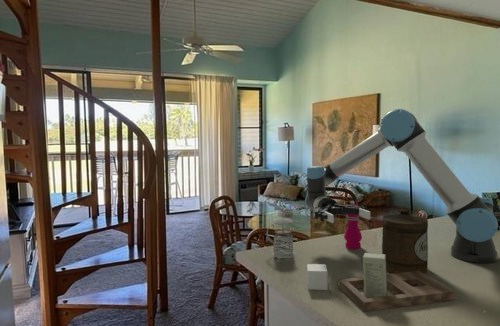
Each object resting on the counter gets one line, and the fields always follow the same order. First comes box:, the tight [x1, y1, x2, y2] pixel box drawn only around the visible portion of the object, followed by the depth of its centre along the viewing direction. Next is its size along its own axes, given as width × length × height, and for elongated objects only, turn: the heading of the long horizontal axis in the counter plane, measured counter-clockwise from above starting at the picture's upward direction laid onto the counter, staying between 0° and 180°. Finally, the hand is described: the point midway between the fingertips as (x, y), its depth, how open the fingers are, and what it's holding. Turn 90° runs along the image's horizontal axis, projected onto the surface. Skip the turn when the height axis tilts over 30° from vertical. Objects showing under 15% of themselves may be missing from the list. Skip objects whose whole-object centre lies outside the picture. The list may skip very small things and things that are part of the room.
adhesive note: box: [306, 263, 328, 291], centre depth 113 cm, size 6×6×6 cm
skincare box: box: [362, 252, 388, 298], centre depth 104 cm, size 6×4×12 cm
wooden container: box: [381, 206, 429, 275], centre depth 124 cm, size 15×15×22 cm
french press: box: [265, 193, 296, 259], centre depth 143 cm, size 10×12×25 cm
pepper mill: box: [343, 200, 363, 250], centre depth 150 cm, size 7×7×20 cm
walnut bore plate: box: [338, 271, 456, 312], centre depth 105 cm, size 28×16×2 cm, turn 100°
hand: (351, 217), depth 120 cm, fingers open, 13 cm apart
